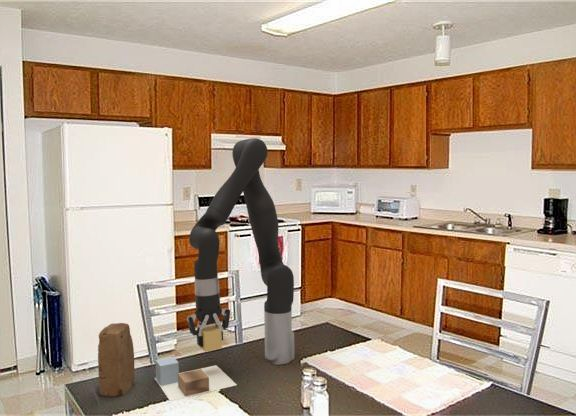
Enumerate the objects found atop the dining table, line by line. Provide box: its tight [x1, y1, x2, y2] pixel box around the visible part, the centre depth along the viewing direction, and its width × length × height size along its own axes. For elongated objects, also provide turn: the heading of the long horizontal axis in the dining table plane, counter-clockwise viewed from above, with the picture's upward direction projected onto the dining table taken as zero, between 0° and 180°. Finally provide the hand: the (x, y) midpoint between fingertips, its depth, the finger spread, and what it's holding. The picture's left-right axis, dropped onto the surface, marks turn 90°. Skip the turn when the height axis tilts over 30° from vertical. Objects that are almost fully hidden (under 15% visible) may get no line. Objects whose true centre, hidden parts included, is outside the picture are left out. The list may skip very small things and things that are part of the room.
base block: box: [178, 368, 209, 397], centre depth 144 cm, size 7×7×4 cm
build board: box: [154, 364, 238, 402], centre depth 149 cm, size 20×17×1 cm
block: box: [97, 322, 135, 397], centre depth 144 cm, size 11×8×20 cm
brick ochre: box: [198, 324, 223, 353], centre depth 155 cm, size 6×6×6 cm
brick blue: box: [155, 356, 180, 386], centre depth 150 cm, size 6×6×6 cm
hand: (210, 344), depth 155 cm, fingers closed on brick ochre, 5 cm apart
